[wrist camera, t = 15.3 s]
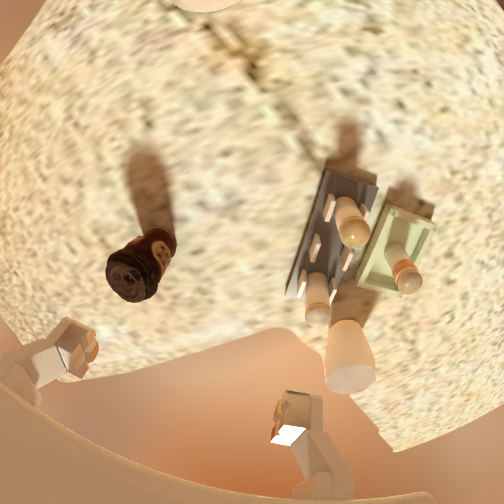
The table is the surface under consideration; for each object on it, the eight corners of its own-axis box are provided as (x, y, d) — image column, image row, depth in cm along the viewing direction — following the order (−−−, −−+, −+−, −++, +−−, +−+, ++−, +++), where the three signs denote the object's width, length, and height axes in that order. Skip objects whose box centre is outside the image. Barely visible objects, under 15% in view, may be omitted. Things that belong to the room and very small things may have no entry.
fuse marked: (389, 239, 41) (405, 269, 33) (408, 245, 41) (426, 275, 33) (380, 259, 43) (393, 291, 35) (399, 264, 43) (414, 297, 35)
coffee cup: (182, 222, 46) (147, 261, 34) (186, 265, 50) (157, 311, 38) (137, 219, 47) (95, 254, 35) (143, 260, 51) (108, 302, 39)
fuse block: (325, 168, 38) (329, 176, 34) (376, 185, 38) (385, 195, 34) (285, 291, 49) (283, 309, 45) (328, 301, 49) (330, 320, 45)
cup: (364, 345, 53) (372, 391, 43) (321, 348, 55) (323, 395, 44) (369, 312, 49) (381, 360, 38) (322, 315, 51) (325, 365, 40)
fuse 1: (308, 268, 45) (310, 304, 37) (330, 274, 45) (335, 310, 37) (301, 287, 46) (301, 323, 39) (322, 292, 46) (326, 329, 39)
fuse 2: (335, 192, 38) (346, 215, 30) (359, 200, 38) (375, 224, 30) (327, 216, 40) (335, 243, 32) (351, 223, 40) (363, 251, 32)
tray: (385, 202, 39) (390, 208, 37) (431, 220, 39) (437, 226, 37) (353, 277, 46) (356, 286, 44) (397, 289, 46) (400, 297, 44)
